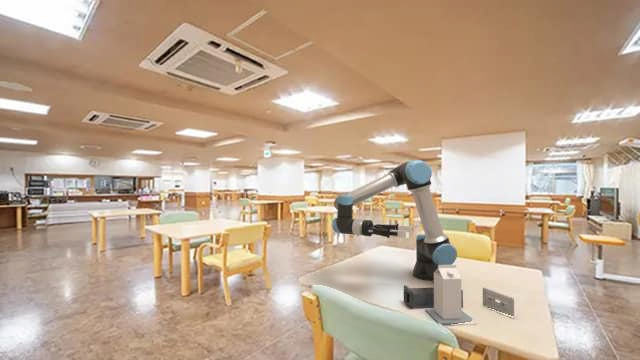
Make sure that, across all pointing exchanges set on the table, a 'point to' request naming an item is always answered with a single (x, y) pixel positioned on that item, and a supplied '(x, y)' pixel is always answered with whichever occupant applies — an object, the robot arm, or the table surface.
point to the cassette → (504, 305)
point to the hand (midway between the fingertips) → (409, 231)
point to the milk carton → (447, 292)
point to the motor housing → (421, 297)
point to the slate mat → (448, 321)
